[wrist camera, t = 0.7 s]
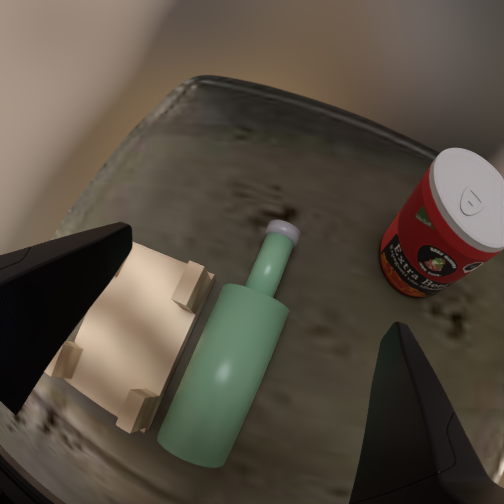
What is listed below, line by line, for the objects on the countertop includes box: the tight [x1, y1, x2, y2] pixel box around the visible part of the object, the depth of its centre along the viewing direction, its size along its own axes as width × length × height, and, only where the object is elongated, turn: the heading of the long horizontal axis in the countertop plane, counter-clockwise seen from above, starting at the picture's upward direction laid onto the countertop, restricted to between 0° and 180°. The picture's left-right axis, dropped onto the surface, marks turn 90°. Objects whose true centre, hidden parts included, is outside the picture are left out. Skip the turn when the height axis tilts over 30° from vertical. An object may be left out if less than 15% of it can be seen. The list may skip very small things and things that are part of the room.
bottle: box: [157, 220, 300, 468], centre depth 20 cm, size 18×5×5 cm, turn 158°
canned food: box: [380, 148, 504, 297], centre depth 19 cm, size 8×8×11 cm
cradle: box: [45, 242, 216, 433], centre depth 21 cm, size 14×9×4 cm, turn 158°
